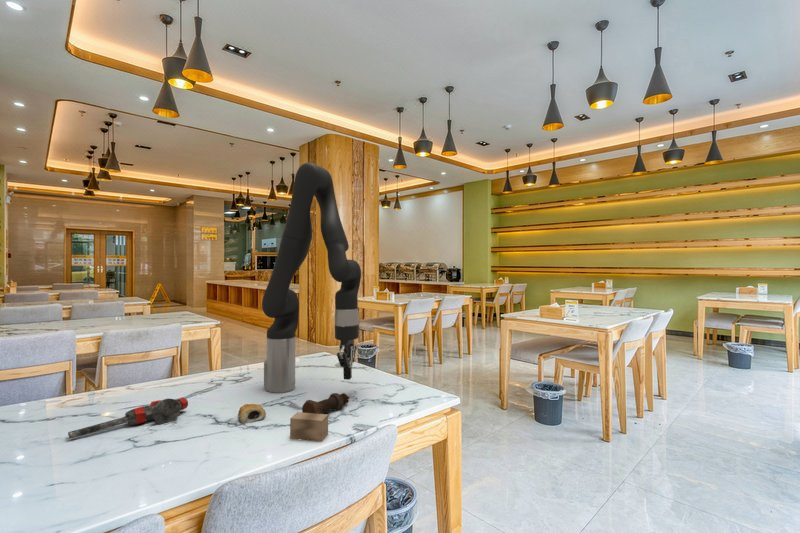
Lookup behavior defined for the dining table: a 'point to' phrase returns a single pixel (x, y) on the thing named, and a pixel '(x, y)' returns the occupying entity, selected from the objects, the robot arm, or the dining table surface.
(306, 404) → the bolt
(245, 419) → the pastry
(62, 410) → the dining table surface
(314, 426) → the brown wooden block
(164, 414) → the dark long red-banded part
